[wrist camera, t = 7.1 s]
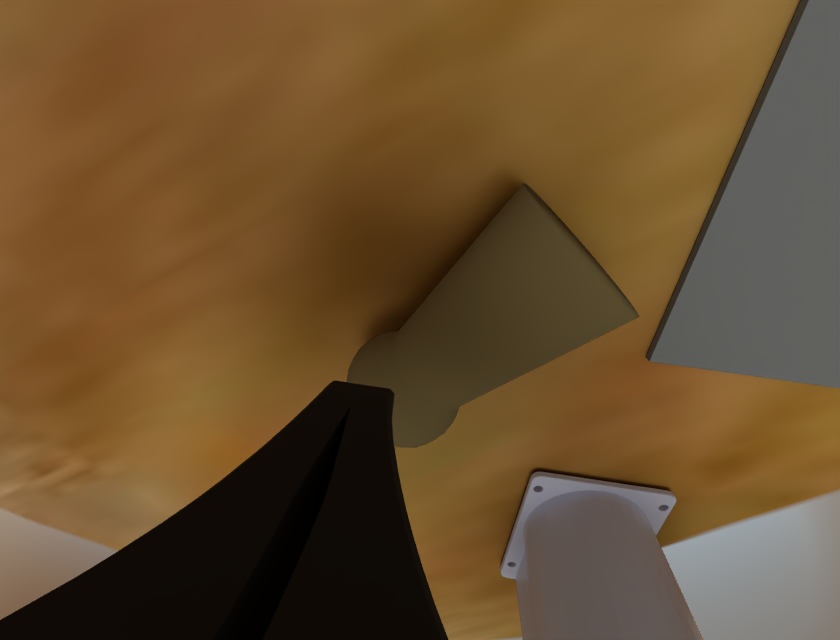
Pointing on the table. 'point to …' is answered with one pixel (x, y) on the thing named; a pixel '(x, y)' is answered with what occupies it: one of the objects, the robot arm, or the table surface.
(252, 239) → the table surface
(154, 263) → the table surface
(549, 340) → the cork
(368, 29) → the table surface
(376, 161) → the table surface
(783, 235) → the topple mat
